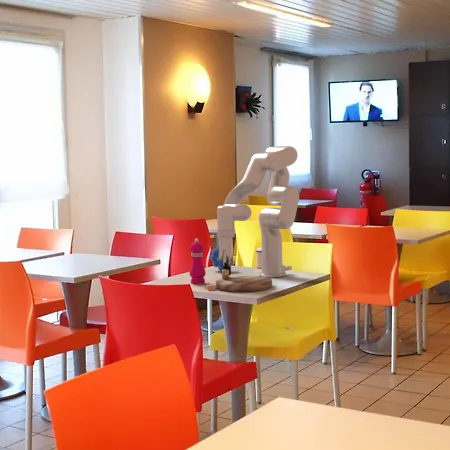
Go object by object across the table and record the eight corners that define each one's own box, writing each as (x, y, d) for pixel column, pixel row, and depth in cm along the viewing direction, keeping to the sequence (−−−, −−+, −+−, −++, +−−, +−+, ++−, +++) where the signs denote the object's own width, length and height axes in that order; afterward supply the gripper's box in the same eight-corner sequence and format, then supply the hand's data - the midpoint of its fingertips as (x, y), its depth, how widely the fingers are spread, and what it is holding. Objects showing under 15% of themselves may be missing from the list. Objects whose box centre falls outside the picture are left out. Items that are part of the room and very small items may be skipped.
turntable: (282, 284, 344) (282, 269, 344) (252, 293, 325) (252, 277, 324) (236, 280, 358) (235, 265, 357) (205, 288, 338) (204, 273, 338)
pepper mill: (203, 284, 352) (202, 239, 350) (188, 284, 353) (186, 239, 351) (207, 281, 359) (206, 237, 357) (192, 281, 360) (190, 237, 358)
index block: (213, 289, 339) (212, 284, 339) (214, 290, 337) (214, 285, 337) (206, 289, 338) (206, 285, 338) (207, 290, 336) (207, 285, 336)
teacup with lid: (273, 268, 390) (273, 245, 389) (255, 269, 392) (254, 245, 391) (275, 265, 402) (275, 242, 401) (257, 265, 403) (257, 242, 402)
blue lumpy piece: (207, 272, 386) (207, 247, 384) (211, 270, 392) (210, 245, 391) (231, 272, 383) (230, 247, 382) (234, 270, 389) (233, 245, 388)
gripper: (220, 231, 357) (221, 272, 359) (214, 235, 343) (215, 277, 344) (237, 231, 356) (238, 272, 358) (231, 235, 341) (233, 277, 343)
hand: (227, 274), depth 351 cm, fingers closed
